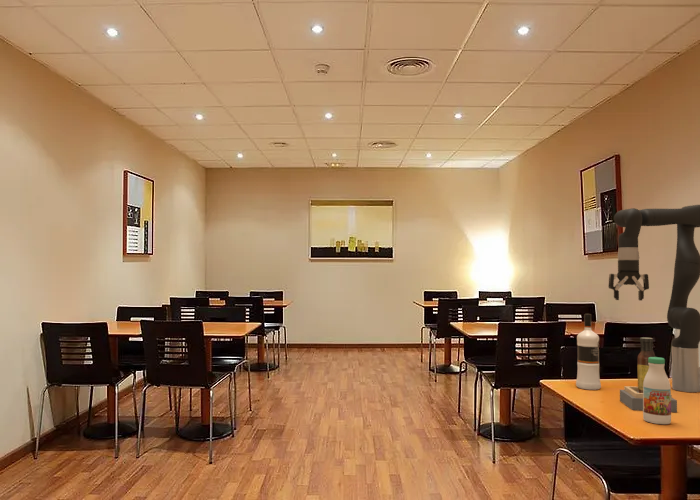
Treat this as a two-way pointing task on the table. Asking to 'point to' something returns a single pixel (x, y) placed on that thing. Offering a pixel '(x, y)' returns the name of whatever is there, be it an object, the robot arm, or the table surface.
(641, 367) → the sauce bottle
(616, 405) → the table surface
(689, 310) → the robot arm
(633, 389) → the tray
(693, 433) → the table surface
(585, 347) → the vodka
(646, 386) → the milk bottle
